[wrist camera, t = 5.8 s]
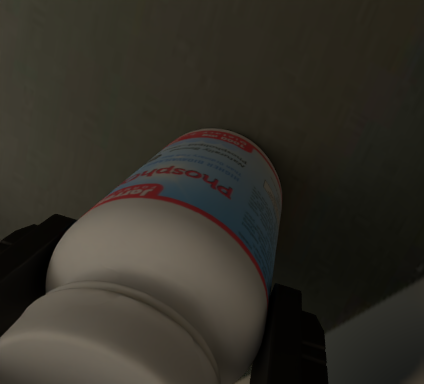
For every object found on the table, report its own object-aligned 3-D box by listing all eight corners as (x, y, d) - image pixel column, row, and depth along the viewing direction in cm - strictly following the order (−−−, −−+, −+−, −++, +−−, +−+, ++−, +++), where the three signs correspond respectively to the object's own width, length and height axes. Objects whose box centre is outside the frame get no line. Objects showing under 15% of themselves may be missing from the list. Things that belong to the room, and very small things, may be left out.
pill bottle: (252, 103, 14) (144, 254, 4) (301, 227, 16) (304, 535, 6) (134, 153, 17) (-117, 329, 7) (189, 257, 18) (55, 522, 8)
